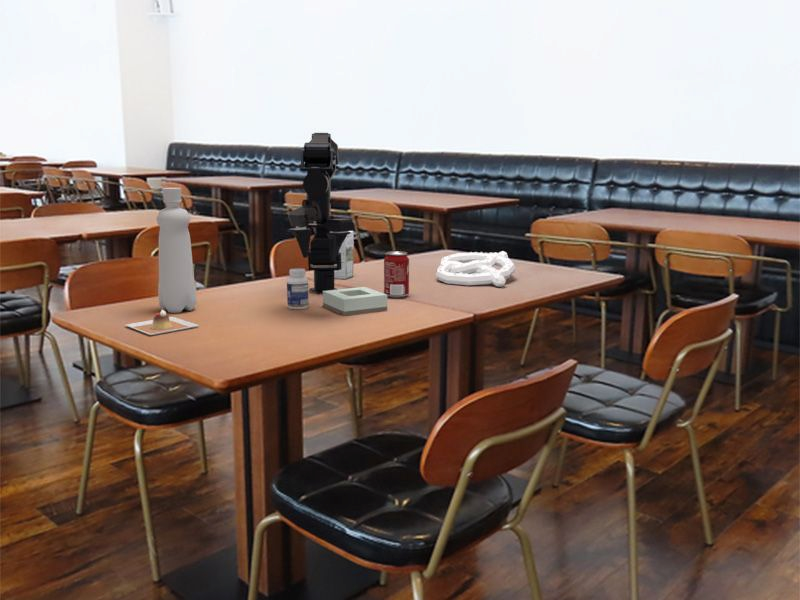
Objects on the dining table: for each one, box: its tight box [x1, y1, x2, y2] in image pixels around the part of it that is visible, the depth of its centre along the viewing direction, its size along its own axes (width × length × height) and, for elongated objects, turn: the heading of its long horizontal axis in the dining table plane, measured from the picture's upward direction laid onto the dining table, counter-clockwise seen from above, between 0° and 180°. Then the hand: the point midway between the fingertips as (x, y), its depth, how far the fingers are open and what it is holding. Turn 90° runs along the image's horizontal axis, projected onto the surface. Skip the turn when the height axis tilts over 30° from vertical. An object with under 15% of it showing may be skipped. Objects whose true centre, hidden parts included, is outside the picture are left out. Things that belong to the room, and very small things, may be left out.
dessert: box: [124, 309, 200, 336], centre depth 174 cm, size 12×12×5 cm
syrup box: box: [328, 230, 355, 280], centre depth 236 cm, size 6×6×14 cm
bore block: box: [322, 286, 388, 317], centre depth 195 cm, size 12×12×4 cm
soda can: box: [383, 250, 410, 299], centre depth 209 cm, size 7×7×12 cm
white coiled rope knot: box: [435, 250, 517, 288], centre depth 237 cm, size 28×24×6 cm
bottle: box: [155, 187, 198, 314], centre depth 189 cm, size 9×9×30 cm
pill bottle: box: [286, 268, 310, 310], centre depth 195 cm, size 5×5×10 cm
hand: (318, 259), depth 191 cm, fingers open, 9 cm apart
